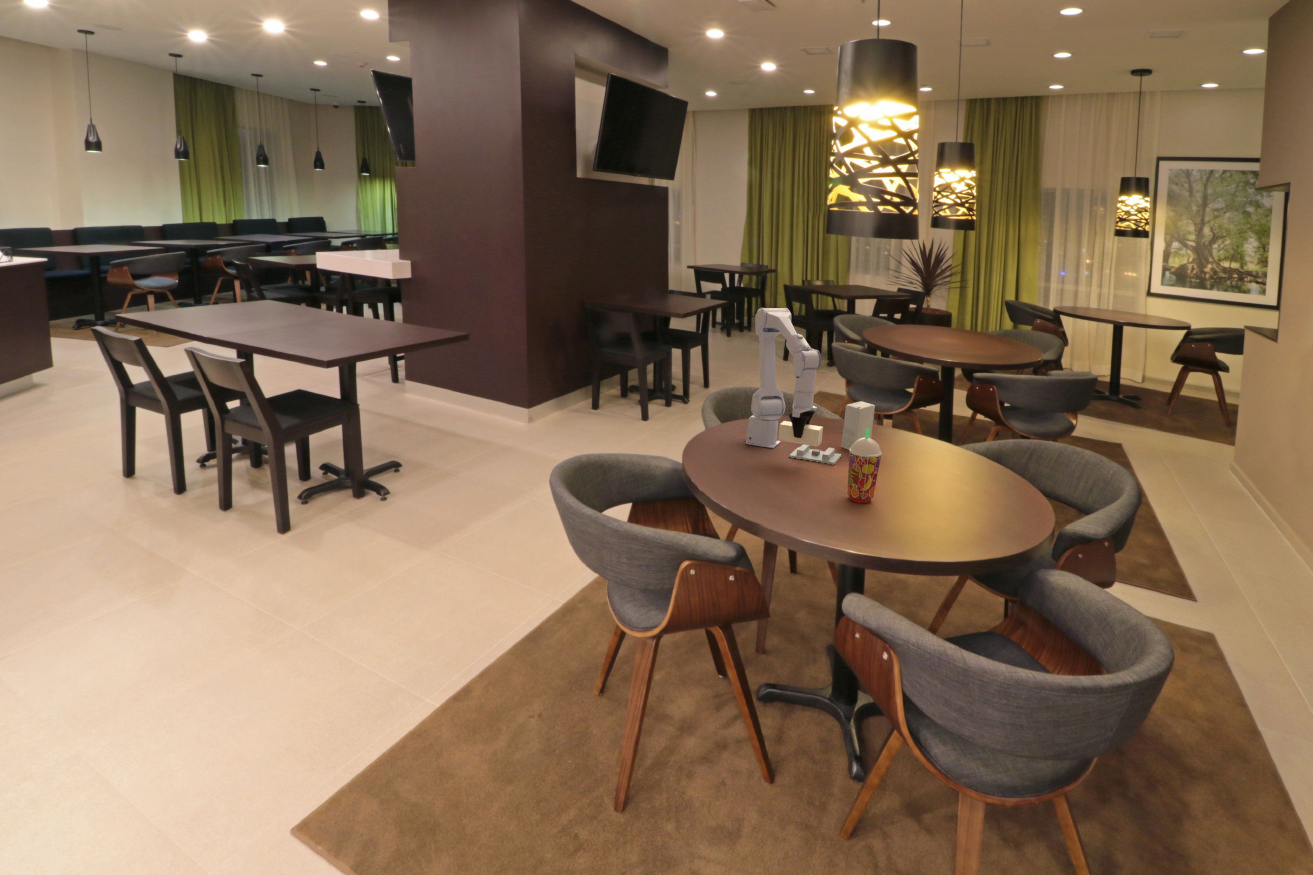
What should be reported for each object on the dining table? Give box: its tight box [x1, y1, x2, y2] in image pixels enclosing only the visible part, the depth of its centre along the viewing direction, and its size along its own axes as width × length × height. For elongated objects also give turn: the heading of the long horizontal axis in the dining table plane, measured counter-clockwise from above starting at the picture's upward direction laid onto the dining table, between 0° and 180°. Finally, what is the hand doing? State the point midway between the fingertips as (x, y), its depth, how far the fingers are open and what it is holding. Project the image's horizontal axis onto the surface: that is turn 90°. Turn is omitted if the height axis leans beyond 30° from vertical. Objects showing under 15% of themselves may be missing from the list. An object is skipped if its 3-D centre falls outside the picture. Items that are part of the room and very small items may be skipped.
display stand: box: [788, 444, 842, 466], centre depth 247 cm, size 14×10×3 cm
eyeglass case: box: [777, 420, 824, 448], centre depth 236 cm, size 12×4×5 cm, turn 65°
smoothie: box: [846, 428, 883, 504], centre depth 209 cm, size 8×8×20 cm
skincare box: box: [840, 400, 876, 451], centre depth 256 cm, size 8×6×15 cm
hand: (800, 435), depth 236 cm, fingers closed on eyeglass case, 4 cm apart
